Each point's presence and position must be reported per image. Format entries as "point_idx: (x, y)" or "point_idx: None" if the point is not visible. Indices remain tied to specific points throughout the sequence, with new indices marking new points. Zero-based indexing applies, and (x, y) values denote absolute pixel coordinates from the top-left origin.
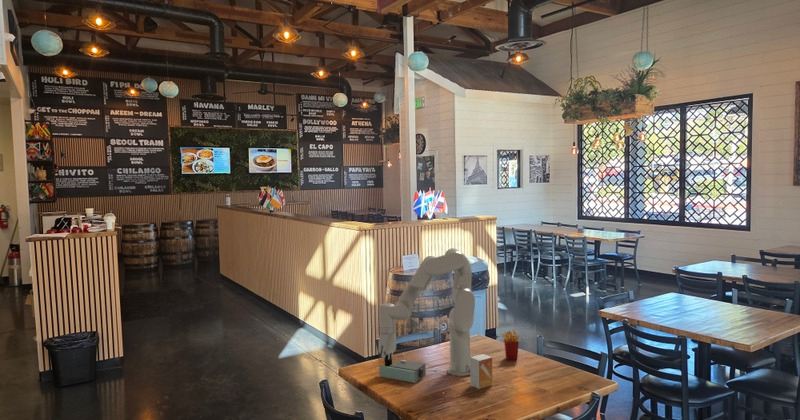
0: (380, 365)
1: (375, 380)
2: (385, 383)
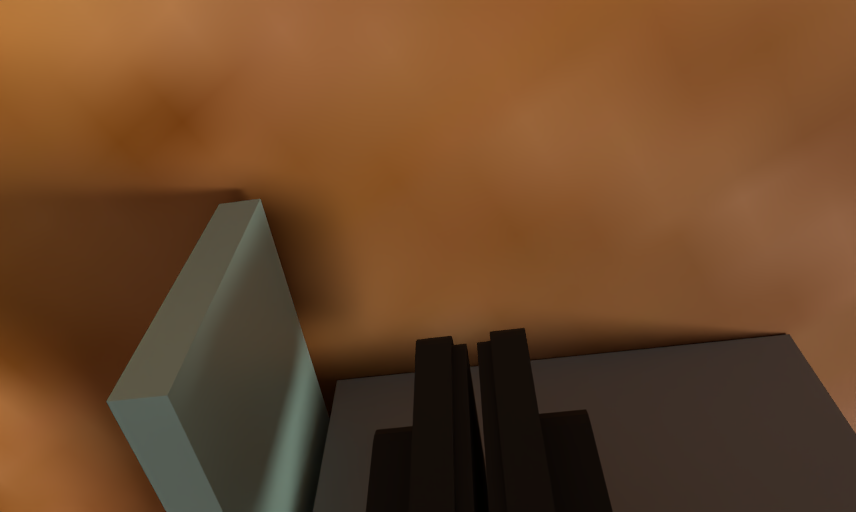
0: (154, 418)
1: (27, 231)
2: (94, 446)
